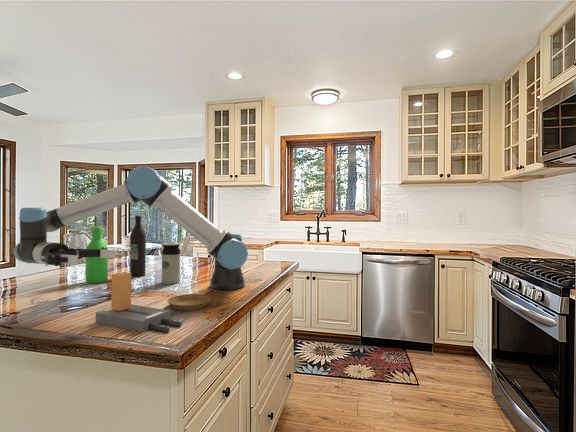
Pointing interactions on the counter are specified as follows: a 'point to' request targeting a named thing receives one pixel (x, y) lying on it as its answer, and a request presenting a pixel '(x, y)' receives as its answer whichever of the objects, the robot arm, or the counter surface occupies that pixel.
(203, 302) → the plant saucer
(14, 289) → the counter surface
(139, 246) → the wine bottle
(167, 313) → the switch box
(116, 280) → the breaker handle
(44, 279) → the counter surface
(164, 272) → the travel mug
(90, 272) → the bottle
